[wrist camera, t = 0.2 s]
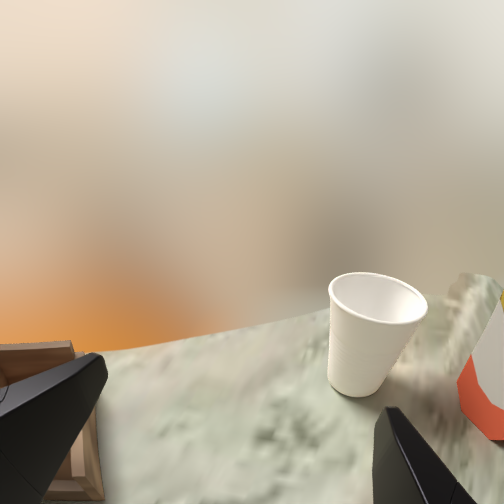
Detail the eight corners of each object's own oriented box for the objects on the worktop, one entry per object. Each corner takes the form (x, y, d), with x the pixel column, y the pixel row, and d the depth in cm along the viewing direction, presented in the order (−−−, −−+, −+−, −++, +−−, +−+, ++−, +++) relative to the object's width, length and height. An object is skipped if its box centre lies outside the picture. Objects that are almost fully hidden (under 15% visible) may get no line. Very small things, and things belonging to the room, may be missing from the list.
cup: (392, 420, 25) (435, 332, 21) (299, 400, 28) (319, 309, 24) (395, 361, 33) (422, 282, 29) (320, 345, 37) (336, 264, 33)
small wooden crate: (104, 500, 15) (77, 466, 13) (-8, 493, 11) (-47, 454, 9) (94, 383, 27) (80, 339, 25) (8, 387, 23) (-12, 344, 21)
